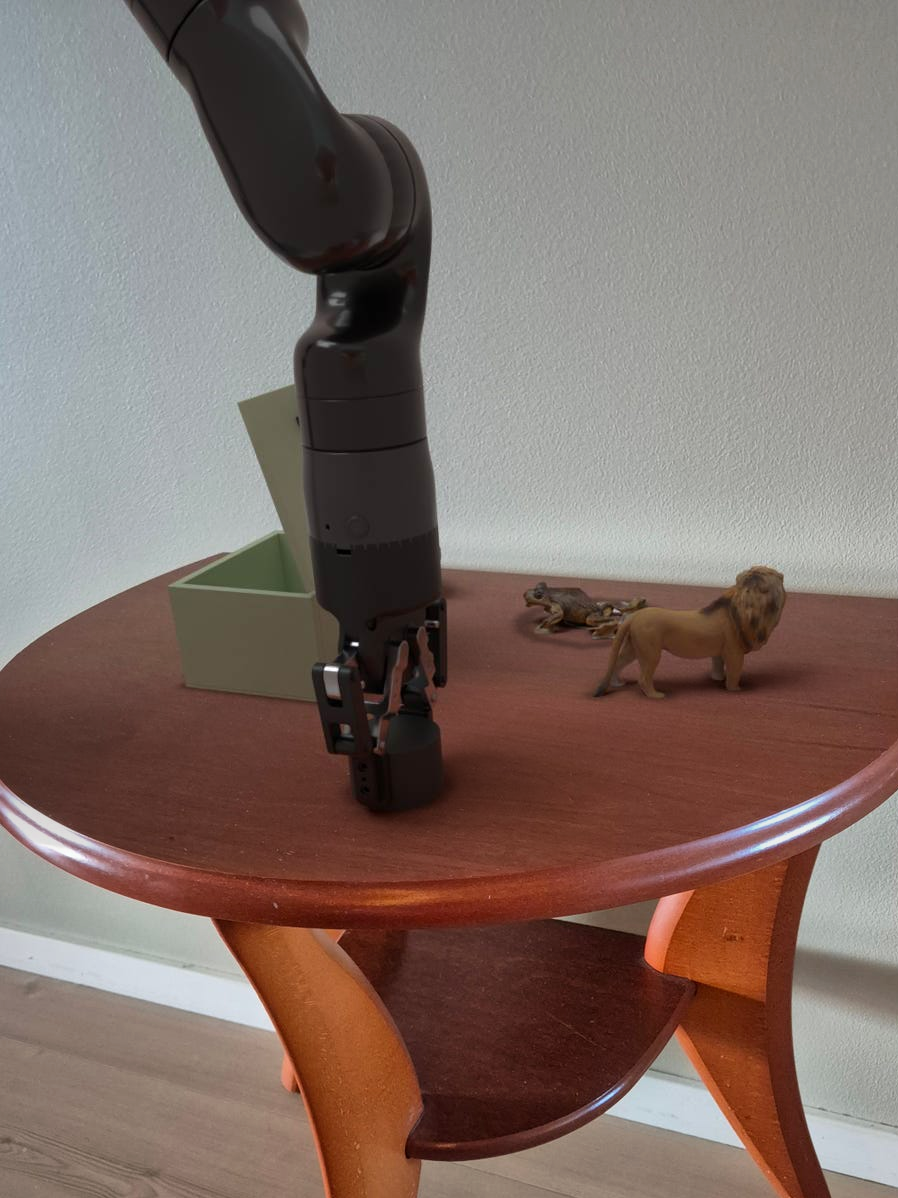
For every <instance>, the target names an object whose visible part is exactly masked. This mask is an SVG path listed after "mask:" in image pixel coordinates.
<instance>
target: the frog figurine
mask: <svg viewBox="0 0 898 1198" xmlns="http://www.w3.org/2000/svg"><path fill="white" fill-rule="evenodd" d="M522 597H523V599H524V601H525V607H526V608H532V607H535V606H536V607H537V606H540V607H543V610H544V611H543V613H544V614H547V615H551V616H549V617H547V618H544V619H543V620H542V622H541V623H540V624H539V625H538V626H536V628H535V630H534V633H535V634H539V635H549V634H554V633H556V628H555V627H554V625H557V624H558V623H560V622H561V621H562V620H563V622H564V624H565V625H567V626H570V627H573V628H577V629H585V631H593V633H592V634H591V639H593V640H599V639H614V638H615V635H616V633H615V631H616V629H617V628H619V627H618V626H619V625H621V624H622V622H623V621H624V620H625V619H626V618H627V617H628V616H629V615H631V614H632V613H634V612H636V611H638V610H641V609H644V608H648V607H649V606H648V603H647V599H646V598H645V597H643V596H639V597H636V598H631V599H630V600H629V602H625V601H621V600H606V601H597V600H593V598H591V597H590V596H589V595H588V593H587V592H586V591H583V590H582V588H580V587H573V586H572V587H570V586H569V587H567V586H566V587H565V586H563V587H551V586H550V587H547V582H544V581H543V582H542V581H541V582H538V583H537V584H536V585H535V587H534V588H527V589H525V591H523V594H522ZM614 613H620V614H622V615H621V616H620V615H614Z"/></svg>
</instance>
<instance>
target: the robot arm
mask: <svg viewBox="0 0 898 1198" xmlns="http://www.w3.org/2000/svg"><path fill="white" fill-rule="evenodd" d="M122 1H123V3H124V4H125V5H126V7H127V8H128V10H129V11H130V13H131V14H132V16H133V17H134V19H135V21H136V22H137V24H138V25H139V26H140V28H141V30H142V31H143V32H144V34H145V35H146V37H147V39H148V40H149V41H150V42H151V44H152V45H153V47H154V48H155V50H156V52H157V53H158V54H159V55H160V57H161V59H162V60H163V61H164V63H165V64H166V66H167V67H168V69H169V70H170V71H171V72H172V74H173V76H174V77H175V79H176V80H177V81H178V82H179V84H180V85H181V86H182V88H183V89H184V90H185V91H186V93H187V94H188V96H189V98H190V100H191V102H192V106H193V108H194V111H195V113H196V115H197V118H198V121H199V124H200V126H201V129H202V132H203V134H204V136H205V139H206V141H207V144H208V146H209V148H210V151H211V152H212V155H213V157H214V159H215V161H216V164H217V166H218V168H219V171H220V172H221V175H222V177H223V179H224V182H225V184H226V186H227V188H228V190H229V192H230V195H231V197H232V198H233V199H232V200H234V203H235V205H236V207H237V209H238V210H239V212H240V214H241V215H242V217H243V218H244V220H245V221H246V223H247V225H248V226H249V227H250V229H251V230H252V232H253V233H254V235H255V236H256V237H257V238H258V239H259V240H260V241H261V243H263V245H264V246H265V247H266V248H267V249H268V250H269V251H270V252H271V253H272V255H274V256H275V257H276V258H278V260H280V261H281V262H283V263H284V264H285V265H286V266H288V267H289V268H292V269H293V270H296V271H297V272H299V273H302V274H305V275H309V276H314V277H316V278H315V279H316V281H315V282H316V284H315V312H314V317H313V320H312V321H311V323H310V325H309V327H308V328H306V329H305V331H303V332H302V334H301V335H300V336H299V337H298V339H297V340H296V343H295V345H294V349H293V356H292V365H293V366H292V367H293V381H294V383H295V392H296V401H297V409H298V417H299V425H300V434H301V442H302V453H303V471H302V481H303V495H304V503H305V511H306V520H307V528H308V536H309V544H310V552H311V559H312V568H313V576H314V584H315V592H316V599H317V602H318V603H319V605H320V606H321V607H322V608H323V609H324V610H326V611H328V612H330V613H331V614H332V615H333V616H334V617H335V618H336V619H337V620H338V622H339V640H338V656H337V657H336V658H335V659H334V660H333V661H332V662H331V663H319V662H317V663H315V664H314V666H313V668H312V681H313V686H314V690H315V695H316V700H317V702H316V704H317V708H318V714H319V718H320V723H321V727H322V731H323V736H324V741H325V745H326V751H327V753H328V754H329V755H335V756H346V757H348V756H351V759H352V767H353V776H354V784H355V793H356V799H357V801H358V802H357V801H356V802H357V803H358V804H359V805H361V806H363V807H366V806H369V807H375V808H386V807H387V806H388V805H389V804H390V803H391V802H392V800H393V796H392V786H391V776H390V766H389V756H388V751H386V747H387V739H388V730H389V721H390V719H391V718H392V717H394V716H395V715H398V714H404V715H416V716H421V717H425V718H428V719H430V720H432V721H434V714H433V708H435V707H436V705H437V702H438V692H437V689H438V688H439V689H445V688H446V686H447V684H448V678H449V677H448V676H449V675H448V609H447V608H448V603H447V599H446V597H445V596H441V595H442V593H443V579H442V578H443V575H442V562H441V561H442V558H441V559H440V548H441V545H440V532H439V531H440V530H439V520H438V506H437V505H438V504H437V502H438V501H437V488H436V486H437V485H436V478H435V477H436V476H435V471H434V465H433V461H432V456H431V449H430V444H429V437H428V424H427V423H428V422H427V409H426V407H427V406H426V394H425V385H424V384H425V381H424V372H423V364H422V353H421V352H422V351H421V350H422V339H423V332H424V331H423V330H424V325H425V319H426V312H427V306H428V305H427V304H428V293H429V282H430V271H431V261H432V246H433V210H432V201H431V199H432V198H431V193H430V188H429V187H430V186H429V182H428V178H427V174H426V171H425V168H424V165H423V161H422V160H421V157H420V155H419V152H418V151H417V149H416V147H415V146H414V144H413V143H412V141H411V140H410V139H409V137H408V136H407V134H406V133H405V132H404V131H403V130H401V129H400V127H398V126H396V124H394V123H392V122H391V121H389V120H387V119H385V118H382V117H380V116H378V115H373V114H366V113H345V112H343V113H342V112H339V110H338V109H337V108H336V107H335V105H334V104H333V103H332V102H331V100H330V99H329V97H328V96H327V94H326V93H325V92H324V91H325V90H323V88H322V86H321V84H320V83H319V81H318V79H317V77H316V75H315V73H314V72H313V70H312V68H311V66H310V64H309V62H308V60H307V58H306V56H307V54H308V52H309V51H308V50H309V45H310V28H309V23H308V19H307V16H306V14H305V12H304V10H303V6H302V5H301V3H300V1H299V0H122ZM294 383H293V384H294ZM431 653H432V655H433V658H432V655H431ZM364 694H369V695H378V696H382V698H381V699H380V700H379V701H367V700H365V695H364ZM368 715H371V716H372V718H374V723H373V732H372V734H371V733H370V728H369V723H368V719H369V718H368V717H369V716H368ZM341 725H343V729H342V727H341ZM342 731H343V732H342ZM369 807H368V808H369Z"/></svg>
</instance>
